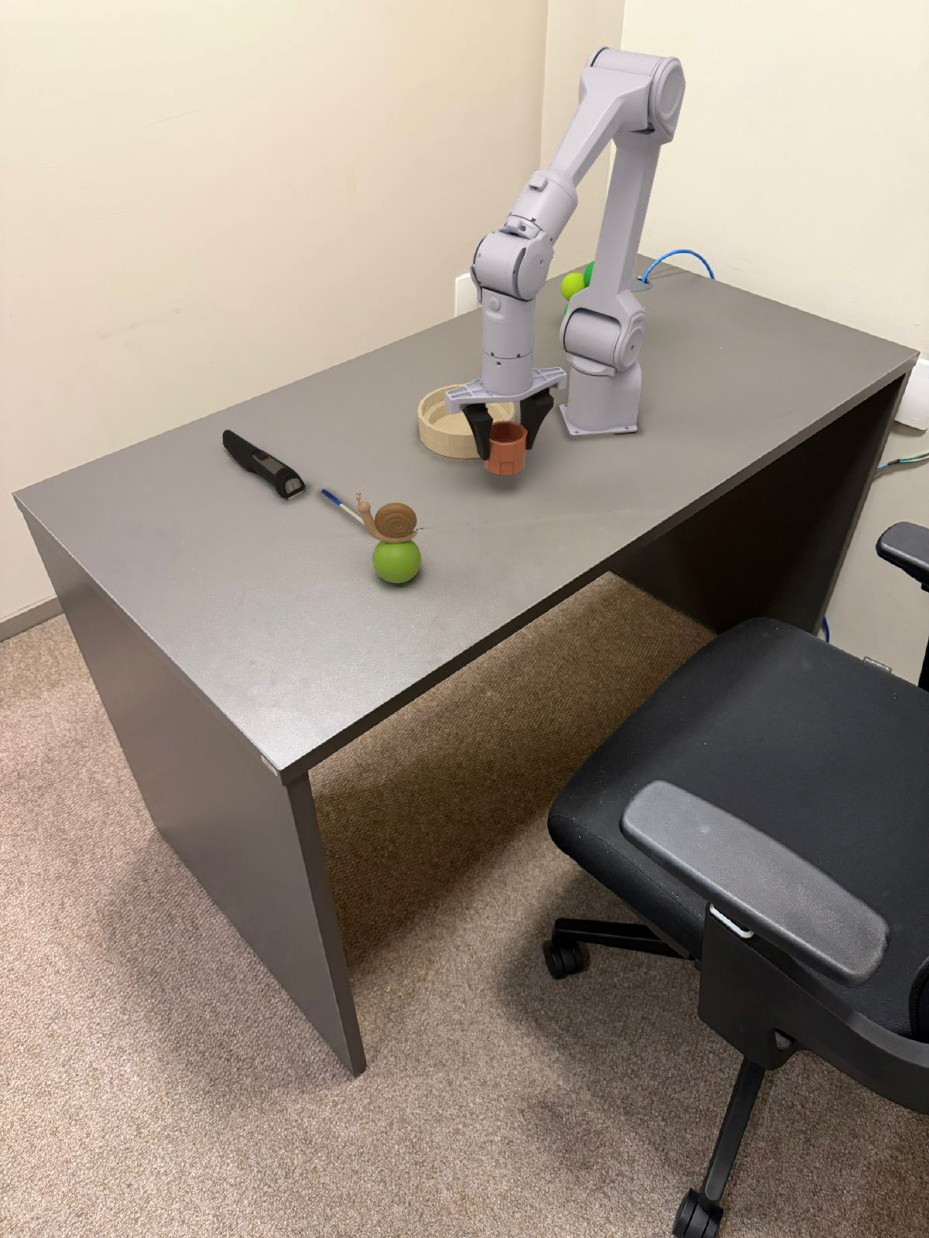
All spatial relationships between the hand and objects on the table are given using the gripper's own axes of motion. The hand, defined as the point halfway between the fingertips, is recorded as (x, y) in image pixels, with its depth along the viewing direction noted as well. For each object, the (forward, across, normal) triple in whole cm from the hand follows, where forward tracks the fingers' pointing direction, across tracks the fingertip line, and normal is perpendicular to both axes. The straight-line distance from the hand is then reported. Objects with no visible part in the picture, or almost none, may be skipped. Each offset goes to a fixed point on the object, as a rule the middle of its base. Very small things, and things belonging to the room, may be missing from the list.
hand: (505, 450), depth 105 cm
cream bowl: (+6, -1, -14) cm, 16 cm away
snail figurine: (+7, +18, +10) cm, 22 cm away
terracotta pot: (+2, 0, 0) cm, 2 cm away
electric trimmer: (+7, +27, -17) cm, 33 cm away
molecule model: (+6, -31, -33) cm, 46 cm away
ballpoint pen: (+7, +20, -4) cm, 21 cm away
